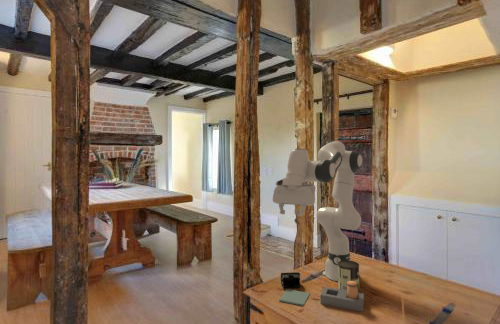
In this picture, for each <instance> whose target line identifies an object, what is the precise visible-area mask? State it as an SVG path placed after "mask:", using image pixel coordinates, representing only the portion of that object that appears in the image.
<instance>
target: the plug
mask: <svg viewBox="0 0 500 324" xmlns="http://www.w3.org/2000/svg"><path fill="white" fill-rule="evenodd" d="M357 286H358V285H357V282H355V281H348V282H347V298H352V299H358V290H357Z"/></svg>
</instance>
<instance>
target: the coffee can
mask: <svg viewBox="0 0 500 324" xmlns="http://www.w3.org/2000/svg"><path fill="white" fill-rule="evenodd" d="M348 281H355V282H357V285H358V286H357V290H358V292H359V293H360V264H359V262H356V261H354V260H351V261H349V260H343V261H339V262H338V281H337V282H338V284H337V285H338V289H341V290H347V282H348Z"/></svg>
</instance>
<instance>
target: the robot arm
mask: <svg viewBox="0 0 500 324" xmlns="http://www.w3.org/2000/svg"><path fill="white" fill-rule="evenodd" d="M317 159H318V160H310V159H309V151H308V149H305V148H293V149H292V150H290V153H289V157H288V160H287V165H286V166H287V172H286V174H285V177H283V178H281V179H279V180H276V182H275V187H274V190H273V194H272V202H273V203H274V204H278V208H279V214H280V215H285V214H286V210H285V209H284V207H285V205H290V206H292V205H293V206H294V205H295V206H300V209H299V210H298V211H297V216H300V217H302V216H303V215H304V212H305V211H306V209H307V206H310V207H311V206H313V207H314V204H315V203H316V202H315V201H316V196H315V195H316V185H314V184H313V183H315V182H318V183H319V182H320V183H330V182H331V181H332V180H333V179H334V182H333V187H332V191H331V192H332V193H331V196H332V198H333V200H334V201H336V202H337V203H338V207H331V206H325V207H321V208H319V209H318V210H317V212H316V220H317V222H318V223H319V224H320V225H321V226H322V228H323V229H324V231H325V234H326V236H327V242H328V251H327V259H326V260H325V270H323V272H322V275H323V276H325V277H326V278H328V280H330V281H331V280H332V281H334V282H338V262H339V261H343V260H349V261H352V260H351V252H350V240H349V237H348V236H347V235H346V234H345V233H344V232H343V231H342V230H341V229H343V230H347V231H348V230H357V229H359V227H361V225H362V217H361V214H360V213H359V212H358V210H357V209H356V208H355V206H354V203H353V194H354V187H355V174H356V173H357V171H358V170H359V169H360V168H361V167H362V165H363V156H362V154H361V152H360V151H355V150H346V146H345V144H344V143H343V142H341V141H339V140H334V141H330V142H329V143H326V144H325V145H323V146H322V147H321V148H320V149H319V150H318V152H317ZM306 182H310V183H306ZM311 182H312V183H311Z"/></svg>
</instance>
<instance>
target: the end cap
mask: <svg viewBox="0 0 500 324" xmlns="http://www.w3.org/2000/svg"><path fill="white" fill-rule="evenodd" d="M280 284H281V286H282V289H283V290H287V289H290V290H297V289H298V290H300V289H301V284H302V283H301V273H300V271H299V272H298V271H297V272H280Z"/></svg>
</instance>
